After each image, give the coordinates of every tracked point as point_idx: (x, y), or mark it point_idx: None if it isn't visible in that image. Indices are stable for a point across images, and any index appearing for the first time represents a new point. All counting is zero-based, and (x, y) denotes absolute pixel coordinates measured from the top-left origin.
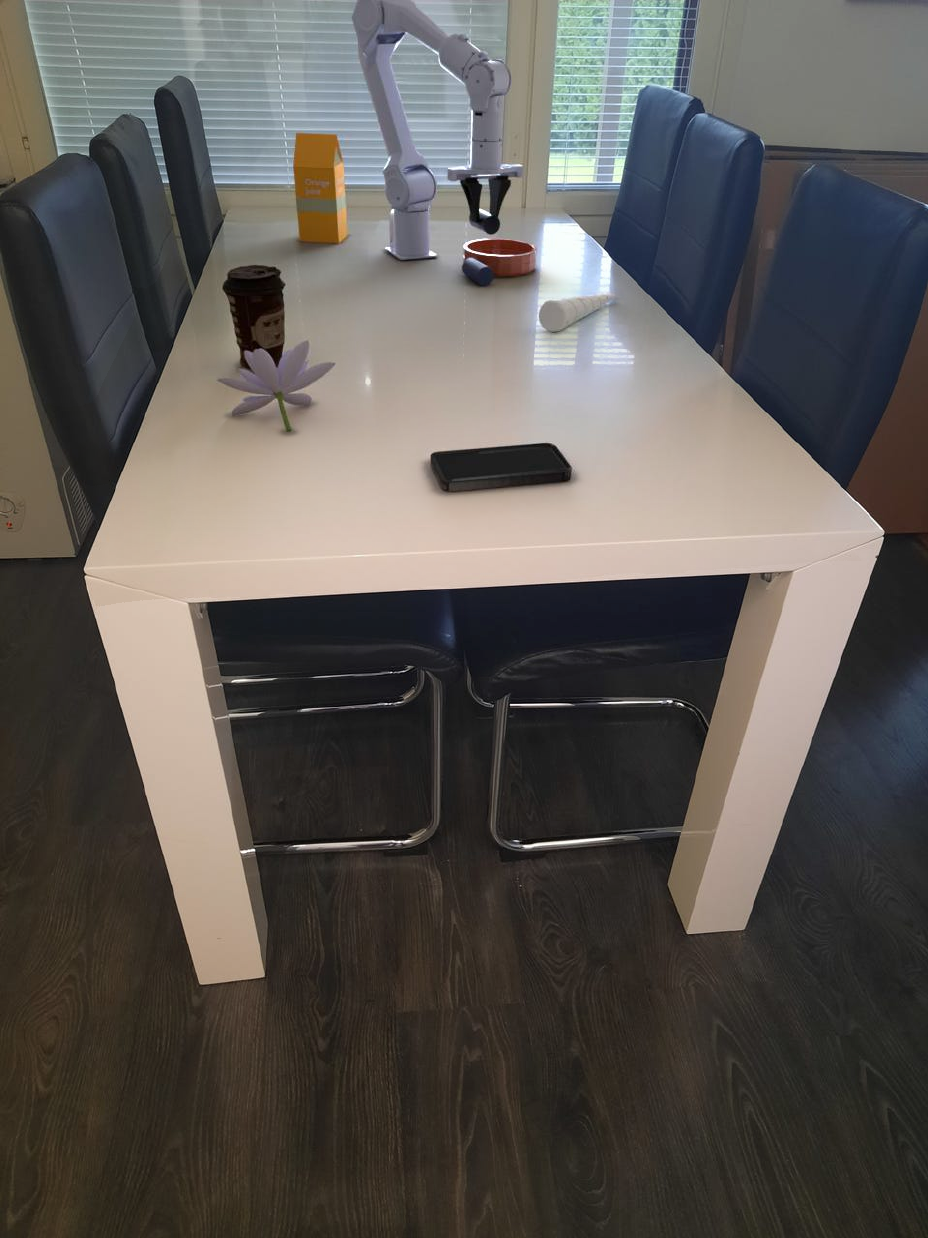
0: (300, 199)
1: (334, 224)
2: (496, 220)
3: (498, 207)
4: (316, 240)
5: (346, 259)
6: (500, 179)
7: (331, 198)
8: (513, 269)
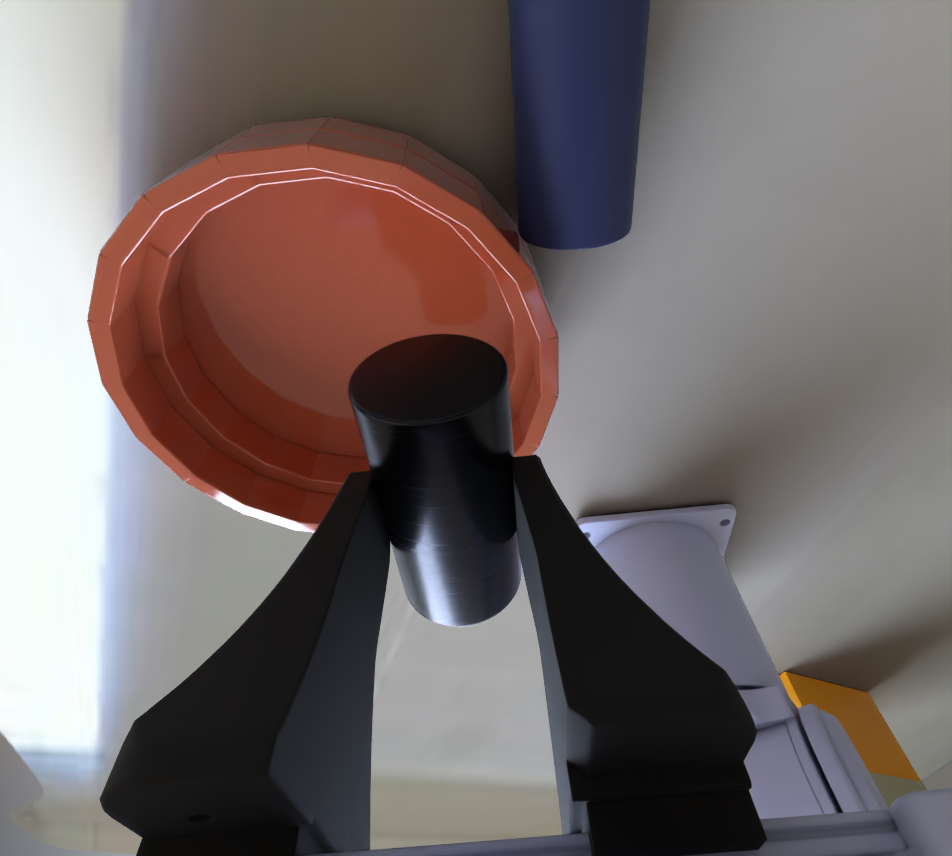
0: None
1: None
2: (384, 394)
3: (331, 537)
4: (836, 687)
5: (895, 544)
6: (254, 827)
7: None
8: (302, 125)
